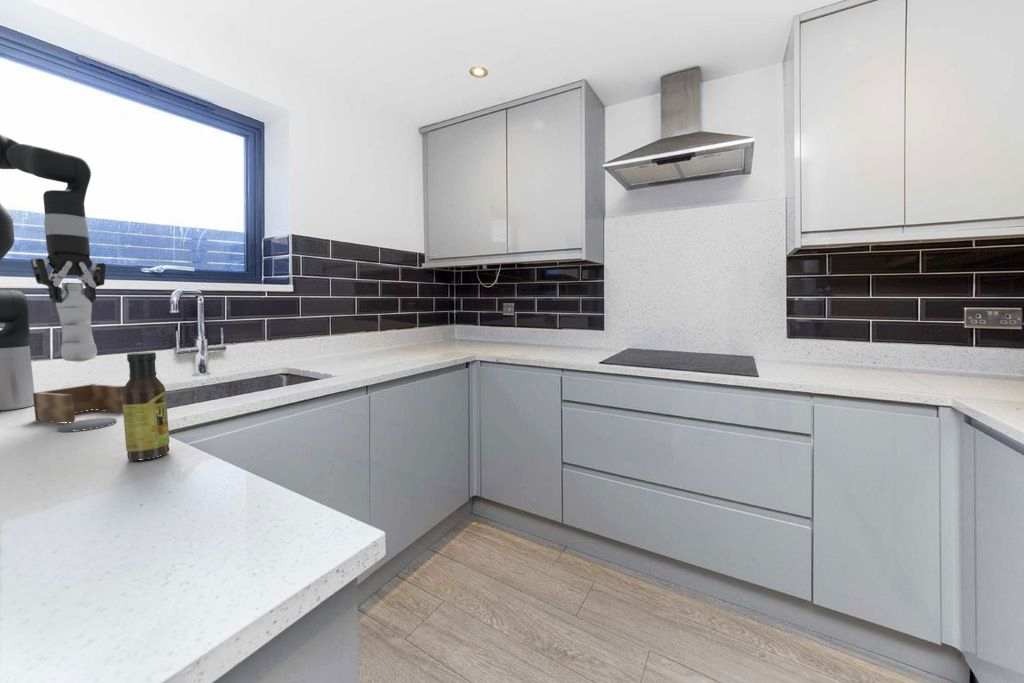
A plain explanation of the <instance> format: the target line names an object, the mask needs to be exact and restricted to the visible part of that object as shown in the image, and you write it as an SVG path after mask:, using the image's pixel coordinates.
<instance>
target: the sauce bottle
mask: <svg viewBox="0 0 1024 683" xmlns="http://www.w3.org/2000/svg"><path fill="white" fill-rule="evenodd" d="M156 356H157V354H156V352H155V351H150V352H148V351H143V352H140V351H139V352H129V353H127V354H126V361H127V362H128V367H129V375H128V376H129V380H128V381H127V383H126V384H125V387H124V388H123V426H124V437H125V449H126V451H127V460H129V459H130V460H139V459H148V458H153V457H157V456H160V455H163V454H165V453H167V452H168V451H169V452H170V447H169V444H170V434H169V432H170V431H169V429H170V428H169V418H168V405H167V404H168V403H167V392H166V389H165V386H164V384H163V383H162V381H160V379H159V378H158V376H157V371H156V359H157V357H156ZM169 452H168V453H169ZM168 453H167V454H168ZM165 455H166V454H165ZM163 456H164V455H163ZM157 458H158V457H157ZM153 459H154V458H153ZM130 460H129V461H130ZM148 460H149V459H148Z"/></svg>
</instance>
